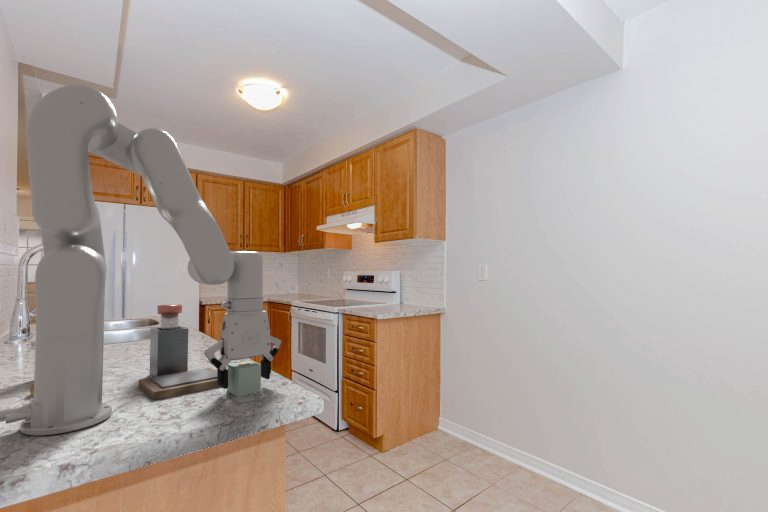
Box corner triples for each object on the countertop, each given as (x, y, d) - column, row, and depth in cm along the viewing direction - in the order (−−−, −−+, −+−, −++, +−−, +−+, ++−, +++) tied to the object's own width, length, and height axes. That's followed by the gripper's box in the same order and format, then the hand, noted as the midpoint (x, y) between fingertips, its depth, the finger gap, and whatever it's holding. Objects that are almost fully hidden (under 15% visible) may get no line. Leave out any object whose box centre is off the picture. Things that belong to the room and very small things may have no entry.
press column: (157, 380, 95) (158, 331, 95) (149, 374, 100) (150, 328, 100) (187, 374, 100) (188, 328, 100) (178, 370, 105) (179, 325, 105)
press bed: (153, 400, 80) (153, 390, 80) (138, 386, 89) (138, 378, 89) (230, 384, 91) (230, 375, 91) (209, 373, 100) (209, 366, 101)
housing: (238, 397, 82) (239, 368, 82) (227, 391, 86) (227, 363, 86) (260, 392, 85) (261, 364, 86) (248, 386, 90) (249, 360, 90)
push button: (160, 342, 96) (161, 306, 96) (154, 339, 100) (154, 305, 100) (184, 340, 100) (185, 305, 100) (177, 337, 104) (178, 304, 104)
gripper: (212, 310, 78) (211, 395, 77) (288, 304, 90) (288, 377, 89) (199, 307, 83) (198, 387, 83) (272, 302, 95) (272, 371, 95)
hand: (245, 382), depth 86 cm, fingers open, 9 cm apart
